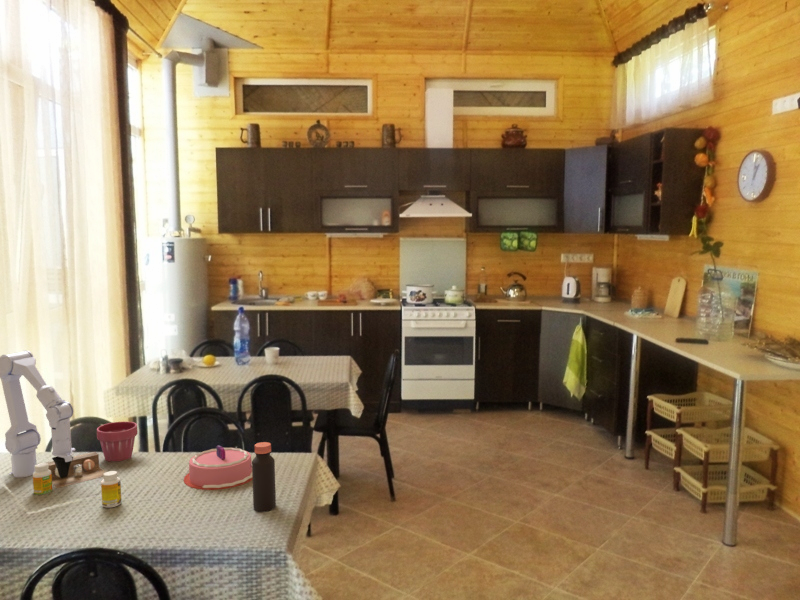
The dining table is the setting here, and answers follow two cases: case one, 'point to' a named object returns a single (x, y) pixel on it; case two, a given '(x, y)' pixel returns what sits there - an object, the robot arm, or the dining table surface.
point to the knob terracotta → (88, 464)
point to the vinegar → (263, 478)
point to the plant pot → (117, 440)
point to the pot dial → (78, 471)
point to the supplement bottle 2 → (111, 489)
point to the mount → (70, 479)
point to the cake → (219, 469)
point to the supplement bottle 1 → (42, 479)
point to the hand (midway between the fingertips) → (63, 477)
